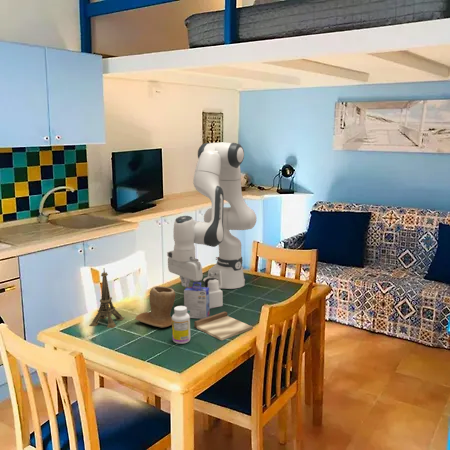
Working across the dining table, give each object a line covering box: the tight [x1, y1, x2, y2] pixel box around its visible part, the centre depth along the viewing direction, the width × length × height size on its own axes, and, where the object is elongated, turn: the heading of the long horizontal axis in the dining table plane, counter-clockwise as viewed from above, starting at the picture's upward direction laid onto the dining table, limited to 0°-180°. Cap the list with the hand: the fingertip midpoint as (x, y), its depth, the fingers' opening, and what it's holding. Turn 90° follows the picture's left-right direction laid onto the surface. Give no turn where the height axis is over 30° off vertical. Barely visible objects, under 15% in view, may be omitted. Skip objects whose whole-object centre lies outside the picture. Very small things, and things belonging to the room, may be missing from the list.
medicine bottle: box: [204, 278, 224, 309], centre depth 221 cm, size 7×7×12 cm
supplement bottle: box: [171, 305, 191, 345], centre depth 185 cm, size 7×7×13 cm
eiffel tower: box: [88, 269, 125, 329], centre depth 202 cm, size 11×11×25 cm
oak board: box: [193, 311, 253, 341], centre depth 197 cm, size 16×16×2 cm
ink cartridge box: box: [183, 281, 211, 320], centre depth 208 cm, size 10×6×14 cm, turn 78°
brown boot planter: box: [134, 285, 176, 329], centre depth 202 cm, size 15×12×15 cm
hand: (185, 286), depth 213 cm, fingers closed
